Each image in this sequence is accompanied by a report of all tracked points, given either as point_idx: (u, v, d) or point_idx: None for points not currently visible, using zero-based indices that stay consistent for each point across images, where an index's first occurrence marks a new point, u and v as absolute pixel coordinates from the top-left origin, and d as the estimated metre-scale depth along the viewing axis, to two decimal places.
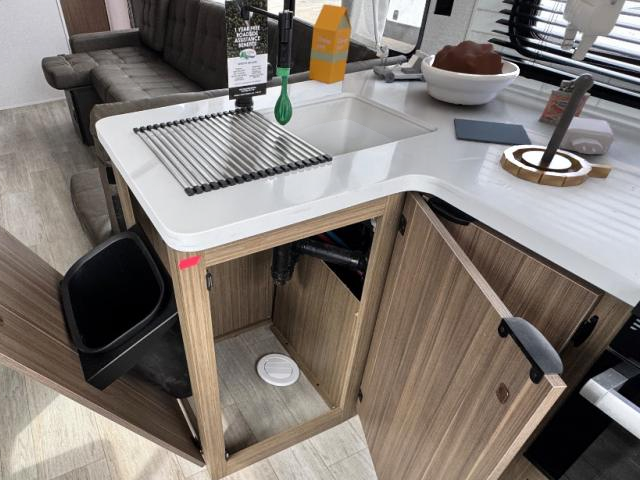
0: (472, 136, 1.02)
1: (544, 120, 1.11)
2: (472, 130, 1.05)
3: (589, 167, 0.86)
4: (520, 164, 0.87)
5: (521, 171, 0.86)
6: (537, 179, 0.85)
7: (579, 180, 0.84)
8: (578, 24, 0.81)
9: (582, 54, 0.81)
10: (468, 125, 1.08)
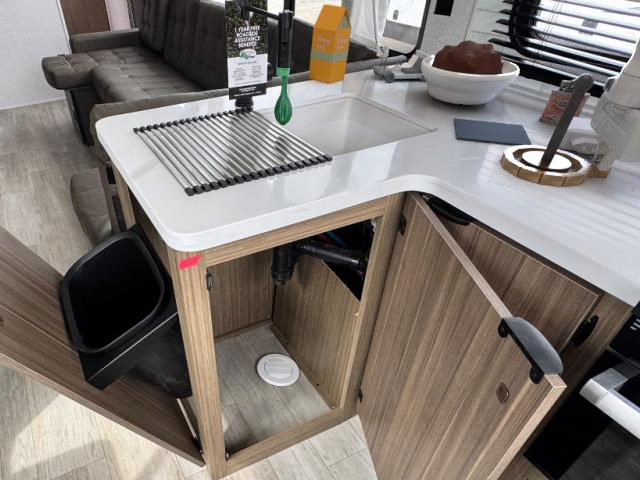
0: (472, 136, 1.02)
1: (544, 120, 1.11)
2: (472, 130, 1.05)
3: (589, 167, 0.86)
4: (520, 164, 0.87)
5: (521, 171, 0.86)
6: (537, 179, 0.85)
7: (579, 180, 0.84)
8: (608, 143, 0.81)
9: (607, 165, 0.84)
10: (468, 125, 1.08)
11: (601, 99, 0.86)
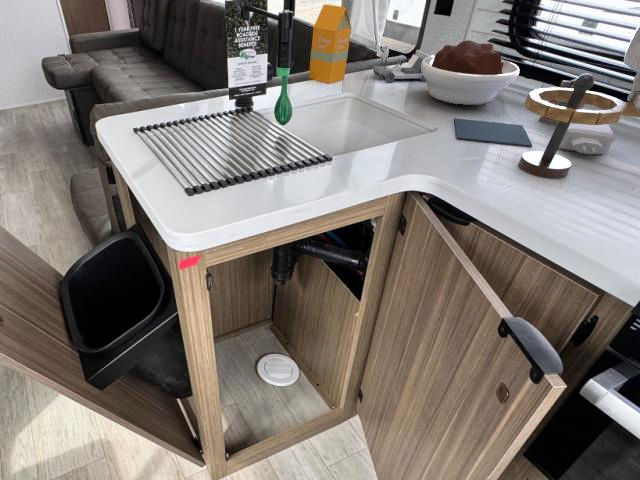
0: (472, 136, 1.02)
1: (544, 120, 1.11)
2: (472, 130, 1.05)
3: (625, 105, 0.78)
4: (548, 103, 0.79)
5: (549, 110, 0.78)
6: (567, 118, 0.77)
7: (614, 118, 0.76)
8: None
9: None
10: (468, 125, 1.08)
11: (637, 31, 0.79)
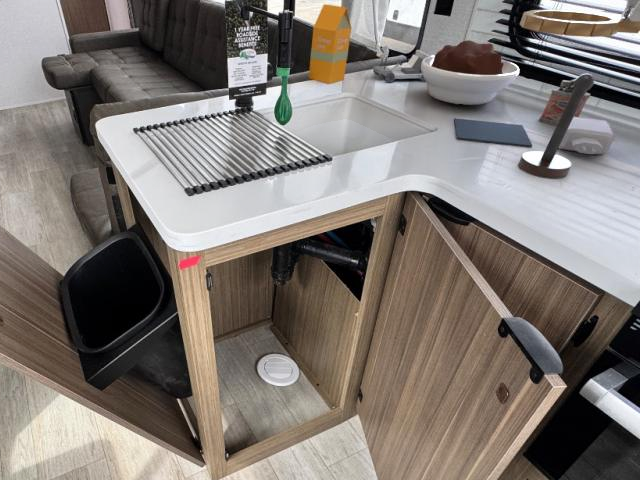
0: (472, 136, 1.02)
1: (544, 120, 1.11)
2: (472, 130, 1.05)
3: (619, 19, 0.78)
4: (543, 17, 0.79)
5: (545, 24, 0.78)
6: (563, 30, 0.76)
7: (609, 30, 0.76)
8: None
9: None
10: (468, 125, 1.08)
11: None
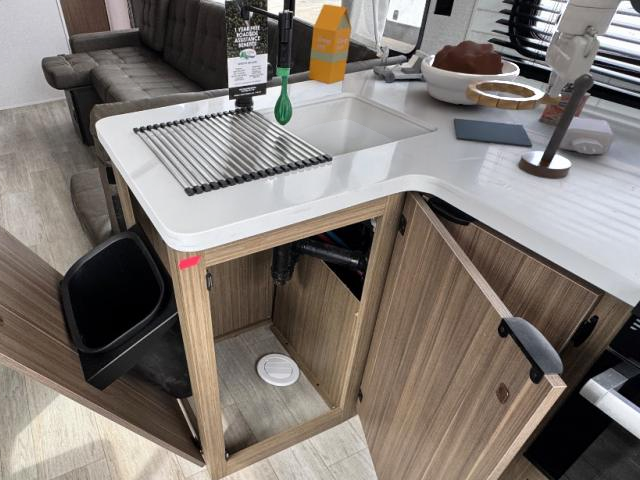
0: (472, 136, 1.02)
1: (544, 120, 1.11)
2: (472, 130, 1.05)
3: (541, 95, 0.96)
4: (481, 92, 0.97)
5: (481, 98, 0.96)
6: (495, 104, 0.95)
7: (531, 105, 0.94)
8: (557, 70, 0.92)
9: (557, 92, 0.95)
10: (468, 125, 1.08)
11: (553, 35, 0.97)
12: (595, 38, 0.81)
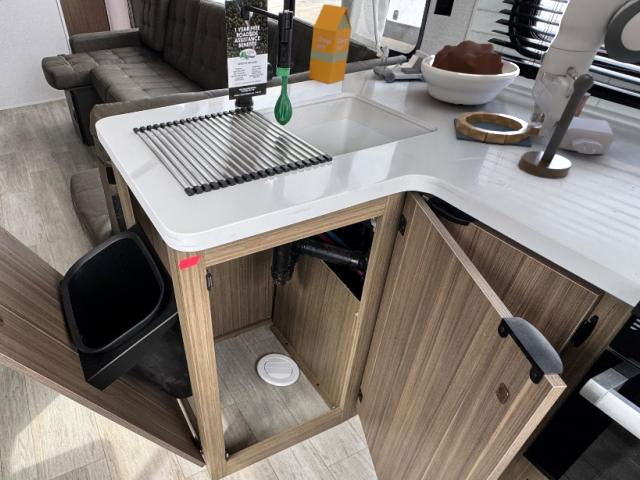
0: None
1: None
2: None
3: (528, 128, 1.01)
4: (470, 125, 1.02)
5: (470, 131, 1.01)
6: (483, 137, 1.00)
7: (518, 138, 0.99)
8: (542, 107, 0.96)
9: (545, 131, 0.97)
10: None
11: (539, 71, 1.02)
12: None
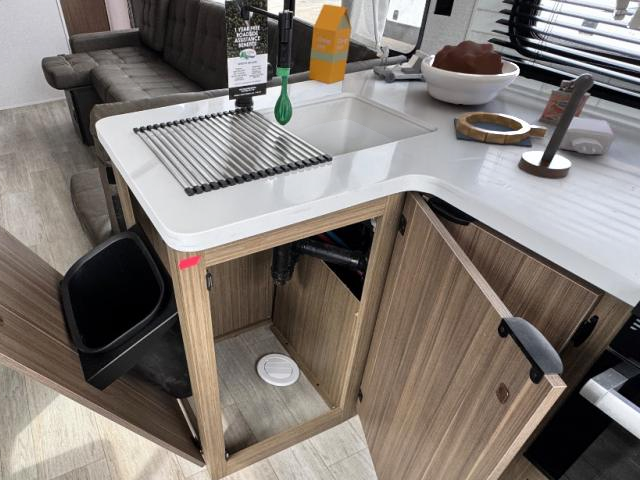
0: None
1: (544, 120, 1.11)
2: None
3: (528, 128, 1.01)
4: (470, 125, 1.02)
5: (470, 131, 1.01)
6: (483, 137, 1.00)
7: (518, 138, 0.99)
8: None
9: (639, 22, 0.78)
10: None
11: None
12: None
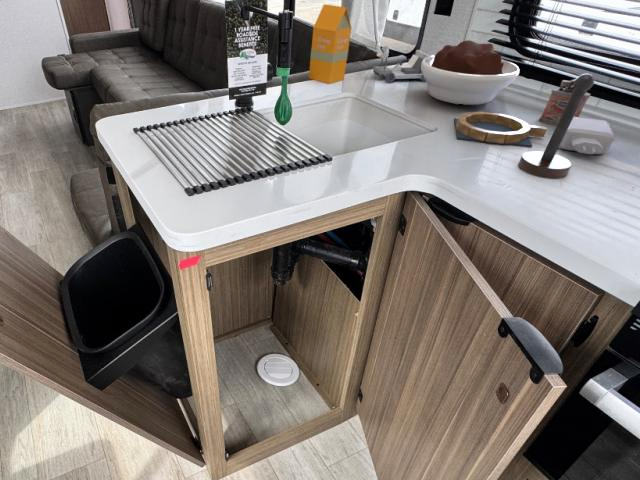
0: None
1: (544, 120, 1.11)
2: None
3: (528, 128, 1.01)
4: (470, 125, 1.02)
5: (470, 131, 1.01)
6: (483, 137, 1.00)
7: (518, 138, 0.99)
8: None
9: None
10: None
11: None
12: None
